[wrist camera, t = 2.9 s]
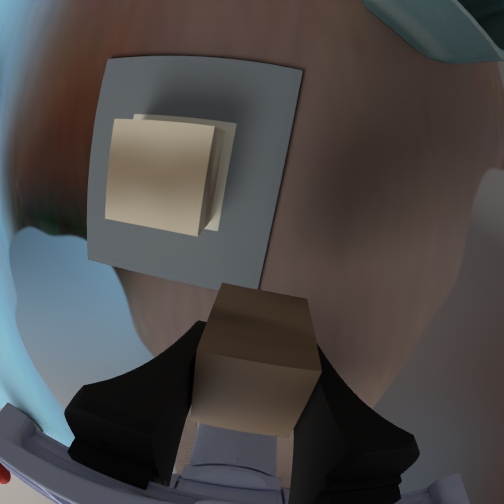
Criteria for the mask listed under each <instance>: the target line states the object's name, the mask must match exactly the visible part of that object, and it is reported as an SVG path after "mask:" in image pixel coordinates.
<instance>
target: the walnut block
mask: <svg viewBox="0 0 504 504" xmlns="http://www.w3.org/2000/svg"><path fill="white" fill-rule="evenodd" d="M321 372H322V369H321V364H320V359H319V354H318V349H317V344H316V339H315V334H314V329H313V325H312V320H311V315H310V311H309V306H308V302H307V299H305V298H299V297H294V296H288V295H283V294H278V293H273V292H267V291H262V290H257V289H252V288H247V287H242V286H237V285H232V284H227V283H222V284H221V287H220V289H219V292H218V294H217V297H216V300H215V302H214V305H213V308H212V310H211V313H210V315H209V318H208V321H207V323H206V326H205V329H204V331H203V334H202V337H201V339H200V342H199V345H198V347H197V351H196V361H195V372H194V383H193V394H192V407H191V421H192V422H196V423H201V424H205V425H210V426H214V427H219V428H225V429H230V430H236V431H242V432H248V433H255V434H262V435H271V436H280V437H289V436H290V434H291V432H292V430H293V429H294V427H295V425H296V423H297V421H298V419H299V417H300V415H301V413H302V412H303V410H304V408H305V406H306V404H307V402H308V400H309V398H310V396H311V394H312V392H313V389H314V387H315V385H316V383H317V381H318V379H319V377H320V375H321Z"/></svg>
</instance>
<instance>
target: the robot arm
mask: <svg viewBox="0 0 504 504" xmlns="http://www.w3.org/2000/svg"><path fill="white" fill-rule="evenodd" d="M206 323H207V322H203V321H197V322H196V323H195V324H194V325H193V326H192V327H191V328H190V329H189V330H188V331H187V332H186V333H185V334H184V335H183V336H182V337H181V338H180V339H178V340H177V341H176V342H175V343H174V344H173V345H172V346H170V347H169V348H168V349H166V350H165V351H164V352H162V353H161V354H160V355H158V356H157V357H155V358H154V359H152V360H150V361H149V362H147V363H145V364H144V365H142V366H140V367H138V368H136V369H134V370H132V371H130V372H127V373H125V374H123V375H120V376H117V377H115V378H112V379H109V380H105V381H101V382H97V383H93V384H88V385H84V386H83V387H82V388H81V389H80V390H79V391H78V392H77V393H76V395H75V396H74V397H73V399H72V400H71V402H70V403H69V405H68V406H67V408H66V409H65V412H64V415H65V418H66V421H67V423H68V425H69V427H70V429H71V431H72V433H73V434H74V436H75V439H74V441H73V442H72V444H71V446H70V448H69V447H67V446H65V445H63V444H62V443H60V442H58V441H56V440H54V439H53V438H51V437H49V436H48V435H46V434H44V433H43V432H41V431H39V430H38V429H36V426H35V424H34V423H33V421H32V420H31V419H30V418H29V417H28V416H27V415H26V414H24V413H23V412H21V411H20V410H19V409H17V408H16V407H14V406H13V405H12V404H10V403H7V404H6V405H5V406H4V407H3V409H2V410H1V411H0V463H1V464H2V465H3V466H4V467H5V468H6V469H7V470H9V471H10V472H11V473H12V474H14V475H15V476H16V477H18V478H19V479H20V480H22V481H23V482H25V483H26V484H27V485H29V486H30V487H32V488H33V489H35V490H36V491H37V492H39V493H40V494H42V495H44V496H45V497H46V498H48V499H49V500H51V501H53V502H55V503H56V504H470V503H469V500H468V497H467V494H466V491H465V489H464V485H463V483H462V480H461V477H460V475H459V473H455V474H452V475H449V476H446V477H443V478H440V479H439V480H437V481H435V482H434V483H432V484H431V485H430V486H429V487H428V488H424V489H421V490H417V491H413V492H408V493H404V494H400V490H399V487H398V484H400V483H401V481H402V480H401V477H400V475H401V474H402V473H403V472H404V471H406V470H407V469H408V468H409V467H410V466H411V465H412V464H413V463H414V462H415V461H416V460H417V459H418V457H419V455H420V453H419V449H418V446H417V443H416V441H415V438H414V435H412V434H410V433H408V432H406V431H405V430H403V429H401V428H399V427H397V426H395V425H394V424H392V423H390V422H389V421H387V420H386V419H384V418H383V417H381V416H380V415H379V414H377V413H376V412H375V411H374V410H372V409H371V408H370V407H369V406H367V405H366V404H365V403H364V402H363V401H362V400H361V399H360V398H359V397H358V396H357V395H356V394H355V393H354V392H353V391H352V390H351V389H350V388H349V387H348V386H347V384H346V383H345V382H344V381H343V380H342V378H341V377H340V376H339V375H338V373H337V372H336V371H335V369H334V368H333V367H332V365H331V364H330V362H329V361H328V359H327V358H326V356H325V355H324V353H323V352H322V350H321V349H320V347H319V346H318V344H317V343H316V344H317V349H318V354H319V359H320V364H321V369H322V372H321V375H320V377H319V379H318V381H317V383H316V385H315V387H314V389H313V392H312V394H311V396H310V398H309V400H308V402H307V404H306V406H305V408H304V410H303V412H302V413H301V415H300V417H299V419H298V421H297V423H296V425H295V427H294V449H293V465H292V477H291V486H290V490H289V489H288V488H281V478H280V477H276V455H277V436H271V435H262V434H255V433H248V432H242V431H236V430H230V429H225V428H219V427H214V426H210V425H205V424H201V423H198V430H197V434H196V438H195V442H194V446H193V450H192V454H191V458H190V462H189V466H187V465H184V467H183V471H182V475H180V474H172V472H173V468H174V464H175V460H176V455H177V451H178V447H179V443H180V439H181V436H182V432H183V428H184V424H185V421H186V417H187V415H188V412H189V409H190V407H191V404H192V394H193V383H194V372H195V361H196V351H197V347H198V345H199V342H200V339H201V337H202V334H203V331H204V329H205V326H206Z"/></svg>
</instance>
